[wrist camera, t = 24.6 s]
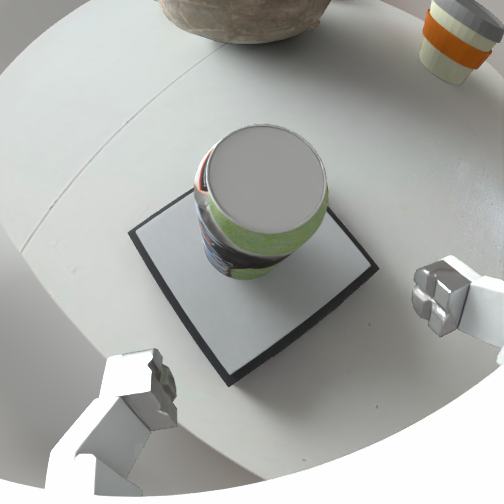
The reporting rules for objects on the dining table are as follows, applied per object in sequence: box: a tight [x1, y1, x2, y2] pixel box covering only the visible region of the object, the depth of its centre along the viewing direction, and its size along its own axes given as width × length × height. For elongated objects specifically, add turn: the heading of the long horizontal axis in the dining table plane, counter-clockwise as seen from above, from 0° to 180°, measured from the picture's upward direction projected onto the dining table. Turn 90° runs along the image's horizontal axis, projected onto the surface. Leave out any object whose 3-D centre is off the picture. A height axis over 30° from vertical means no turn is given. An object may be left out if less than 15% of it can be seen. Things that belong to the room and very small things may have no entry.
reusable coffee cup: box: [419, 0, 504, 85], centre depth 29 cm, size 13×12×15 cm
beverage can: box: [194, 124, 328, 280], centre depth 17 cm, size 6×7×12 cm
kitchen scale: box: [128, 188, 379, 387], centre depth 24 cm, size 15×15×3 cm
